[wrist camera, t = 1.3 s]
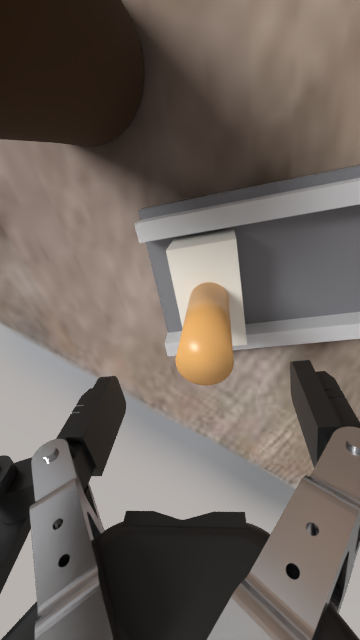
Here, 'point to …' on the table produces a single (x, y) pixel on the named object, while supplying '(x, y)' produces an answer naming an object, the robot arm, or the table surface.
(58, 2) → the olive oil
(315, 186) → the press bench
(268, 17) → the table surface
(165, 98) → the table surface
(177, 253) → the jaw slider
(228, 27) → the table surface
